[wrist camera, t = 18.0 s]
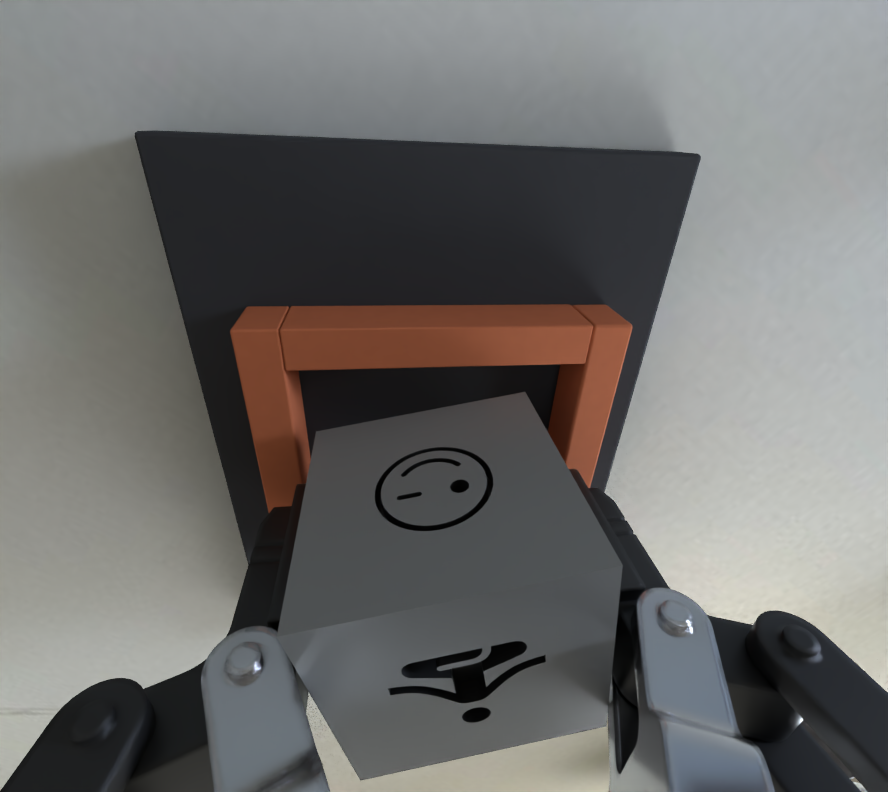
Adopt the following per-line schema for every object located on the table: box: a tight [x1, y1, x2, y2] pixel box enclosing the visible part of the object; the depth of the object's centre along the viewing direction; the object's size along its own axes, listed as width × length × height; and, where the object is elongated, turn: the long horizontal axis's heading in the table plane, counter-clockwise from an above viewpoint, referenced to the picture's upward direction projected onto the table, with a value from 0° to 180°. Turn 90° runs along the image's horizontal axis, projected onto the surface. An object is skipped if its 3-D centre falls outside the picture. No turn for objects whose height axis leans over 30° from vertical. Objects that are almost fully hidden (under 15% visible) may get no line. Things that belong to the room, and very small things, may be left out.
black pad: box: [135, 131, 701, 565], centre depth 13 cm, size 12×16×2 cm
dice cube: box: [277, 392, 623, 780], centre depth 10 cm, size 5×5×5 cm
